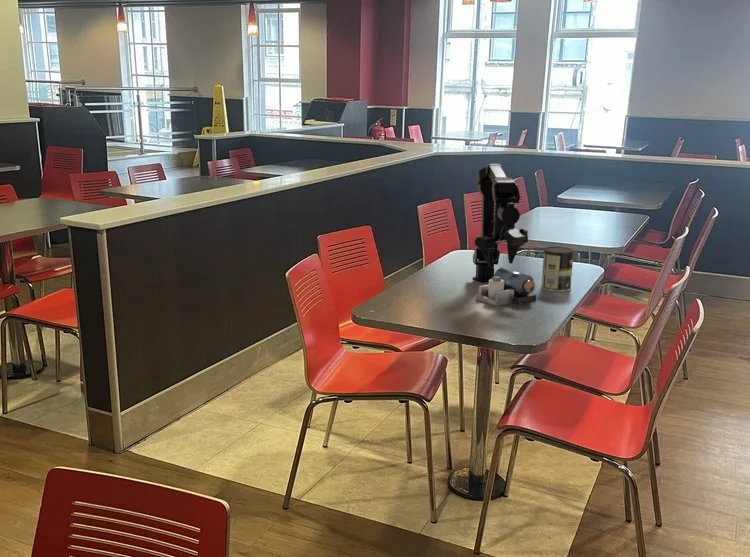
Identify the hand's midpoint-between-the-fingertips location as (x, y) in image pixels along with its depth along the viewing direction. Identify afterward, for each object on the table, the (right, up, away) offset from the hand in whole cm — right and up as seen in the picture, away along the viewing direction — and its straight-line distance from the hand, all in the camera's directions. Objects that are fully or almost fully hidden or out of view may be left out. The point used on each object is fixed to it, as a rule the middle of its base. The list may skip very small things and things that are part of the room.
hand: (500, 265), depth 231 cm
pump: (-1, -12, +1) cm, 12 cm away
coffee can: (+23, -8, +16) cm, 29 cm away
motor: (+2, -11, +2) cm, 12 cm away
